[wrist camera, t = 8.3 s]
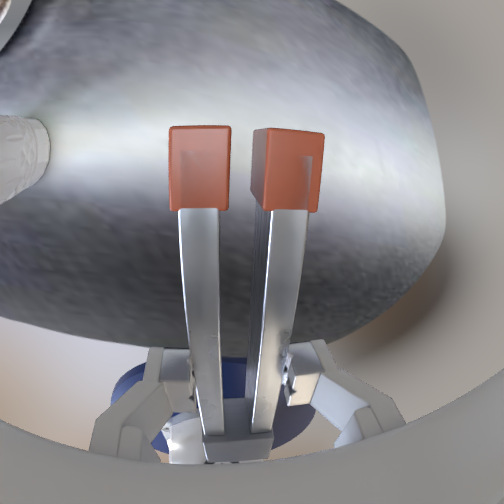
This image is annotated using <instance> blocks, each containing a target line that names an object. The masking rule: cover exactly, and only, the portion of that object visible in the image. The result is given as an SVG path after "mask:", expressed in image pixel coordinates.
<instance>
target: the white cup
mask: <svg viewBox="0 0 504 504" xmlns="http://www.w3.org/2000/svg"><path fill="white" fill-rule="evenodd" d="M49 153H50V141H49V138H48V134H47V130H46V128H45V127H44V126H43V125H42V124H41V122H40V121H39V120H37V119H32V118H25V117H18V116H8V115H0V205H1V204H3V203H4V202H6V201H7V200H9V199H11V198H12V197H14V196H16V195H17V194H18V193H19V192H21V191H23V190H24V189H26V188H28V187H30V186H33V185H34V184H35V183H36V182H37V181H38V180H39V179H40V178H41V177H42V175H43V174H44V172H45V169H46V166H47V164H48V161H49Z"/></svg>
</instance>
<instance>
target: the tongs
mask: <svg viewBox="0 0 504 504" xmlns="http://www.w3.org/2000/svg"><path fill="white" fill-rule="evenodd" d="M324 139H325V136H324V134H322V133H317V132H309V131H301V130H291V129H280V128H265V129H258V130H254V132H253V148H252V168H251V188H250V190H251V192H252V194H253V195H254V197H255V198H256V212H255V230H254V248H253V266H252V283H251V301H250V319H249V336H248V353H247V371H246V388H245V398H228V399H223V384H222V358H221V322H220V211H226V210H228V208H229V180H230V152H231V127H230V126H222V125H197V126H172V127H170V129H169V207H170V210H171V211H178V226H179V245H180V261H181V274H182V286H183V297H184V307H185V317H186V325H187V334H188V342H189V349H190V355H191V358H192V364H193V376H194V377H195V383H196V395H197V401H198V406H199V411H200V417H201V422H202V442H203V447H204V451H205V454H206V458H207V462H209V463H212V462H237V461H250V460H260V459H268V457H269V454H270V451H271V447H272V444H273V440H274V434H273V430H272V424H273V420H274V415H275V411H276V407H277V402H278V398H279V393H280V389H281V384H282V383H281V382H282V377H283V372H284V369H285V361H286V356H287V351H288V349H289V344H290V338H291V333H292V327H293V322H294V316H295V310H296V304H297V298H298V292H299V285H300V279H301V272H302V265H303V258H304V251H305V244H306V236H307V228H308V220H309V212H311V213H315V212H317V209H318V201H319V192H320V183H321V173H322V162H323V151H324Z"/></svg>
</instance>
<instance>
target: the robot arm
mask: <svg viewBox="0 0 504 504" xmlns="http://www.w3.org/2000/svg"><path fill="white" fill-rule="evenodd" d="M281 383H282V384H283V385H284V386H285V389H284V394H285V398H286V401H287V405H288V406H294V405H301V404H309V403H310V405H311V406H313V407H314V408H315V409H316V410H317V411H318V412H319V413H321V414H322V415H323V416H324V417H325V418H327V420H329V421H330V422H331V423H332V424H333V425H335V426H336V427H337V428H338V429H339V430H341V431H342V432H341V434H340V436H339V437H338V438H337V440H336V441H335V443H334V448H332V449H329V450H324V451H320V452H315V453H310V454H305V455H300V456H295V457H289V458H282V459H275V460H268V461H263V459H260V460H250V461H237V462H212V463H209V462H207V458H206V454H205V451H204V447H203V442H202V422H201V417H200V411H199V408H196V392H195V389H196V383H195V377H194V376H193V364H192V358H191V355H190V349H189V348H171V347H165V348H164V347H151V348H150V349H149V353H148V357H147V362H146V366H145V371H144V376H143V381H138V382H137V383H136V384H135V385H134V386H132V387H131V388H130V389H129V390H128V391H127V392H126V393H125V394H124V395H123V396H121V397H120V398H119V399H118V400H117V401H116V402H115V403H114V404H113V405H111V406H110V407H109V408H108V409H107V410H106V411H105V412H104V413H102V414H101V415H100V416H99V417H98V418H97V419H96V421H95V425H94V429H93V433H92V438H91V442H90V447H89V451H86V450H82V449H79V448H74V447H71V446H68V445H65V444H61V443H58V442H55V441H52V440H49V439H46V438H43V437H40V436H38V435H35V434H32V433H30V432H27V431H25V430H23V429H20V428H18V427H16V426H13V425H11V424H9V423H6V422H5V421H3V420H0V504H504V369H502V370H501V371H499V372H498V373H497V374H495V375H494V376H492V377H491V378H490V379H488V380H486V381H485V382H484V383H482V384H481V385H479V386H477V387H476V388H474V389H473V390H471V391H469V392H468V393H466V394H464V395H463V396H461V397H459V398H457V399H456V400H454V401H452V402H450V403H448V404H447V405H445V406H443V407H441V408H439V409H437V410H435V411H433V412H431V413H429V414H427V415H425V416H423V417H420V418H418V419H416V420H414V421H411V422H409V423H407V424H406V422H405V420H404V419H403V417H402V415H401V413H400V411H399V410H398V408H397V406H396V404H395V403H394V401H393V399H392V398H391V397H389V396H387V395H386V394H384V393H382V392H380V391H379V390H377V389H375V388H374V387H371V386H370V385H368V384H367V383H365V382H363V381H362V380H360V379H358V378H357V377H355V376H353V375H352V374H350V373H348V372H347V371H345V370H344V369H340V370H339V368H338V366H337V364H336V362H335V360H334V358H333V356H332V354H331V352H330V351H329V349H328V347H327V344H326V343H325V341H324V340H323V339H319V340H312V341H304V342H295V343H290V344H289V349H288V351H287V356H286V361H285V369H284V372H283V377H282V382H281ZM173 412H182V413H180V414H178V415H176V416H174V417H171V416H172V414H173ZM160 430H161V431H162V433H163V435H164V437H165V439H166V441H167V443H168V447H169V462H170V463H160V462H161V460H160V458H159V456H158V454H157V453H156V451H155V450H154V448H153V447H152V445H151V442H152V441H153V439H154V438H155V437H156V436H157V434H158V433H159V432H160Z"/></svg>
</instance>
